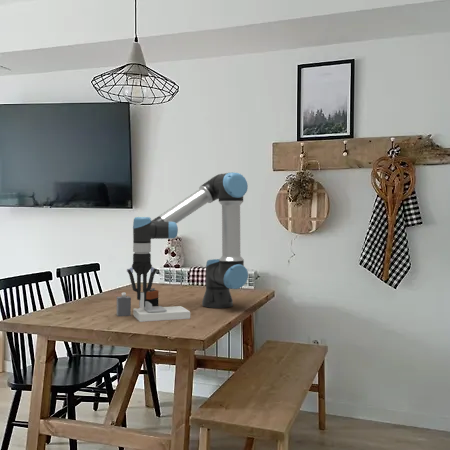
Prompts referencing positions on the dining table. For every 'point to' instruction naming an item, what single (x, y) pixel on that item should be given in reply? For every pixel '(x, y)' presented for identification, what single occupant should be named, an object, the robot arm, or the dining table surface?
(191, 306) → the dining table surface
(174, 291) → the dining table surface
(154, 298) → the battery
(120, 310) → the plug
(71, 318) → the dining table surface
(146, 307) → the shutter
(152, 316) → the faceplate
